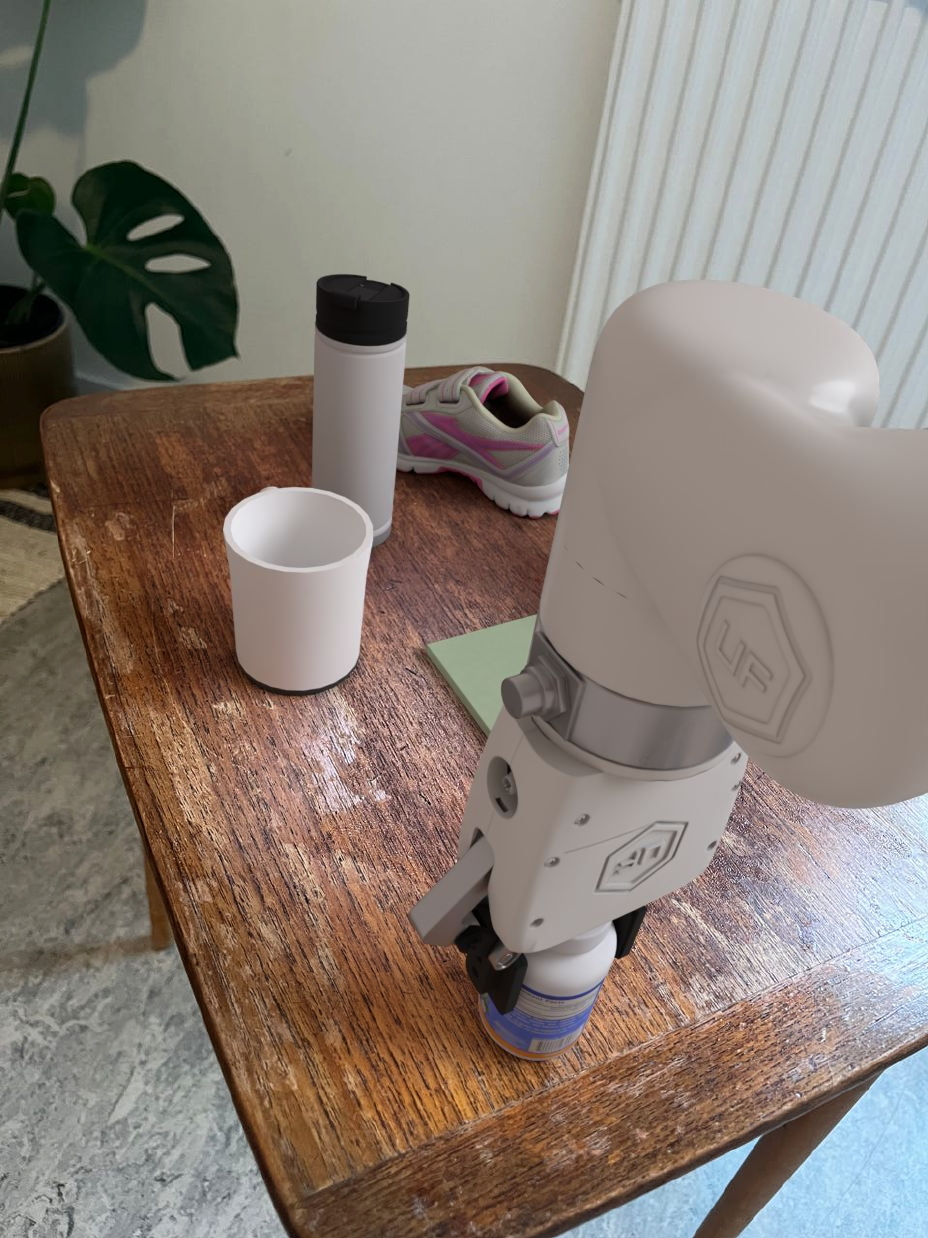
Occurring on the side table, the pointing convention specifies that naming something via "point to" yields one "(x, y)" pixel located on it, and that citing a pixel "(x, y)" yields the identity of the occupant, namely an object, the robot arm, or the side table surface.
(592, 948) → the pill bottle
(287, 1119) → the side table surface
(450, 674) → the mat
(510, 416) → the running shoe
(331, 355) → the travel mug
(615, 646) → the robot arm
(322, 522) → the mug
